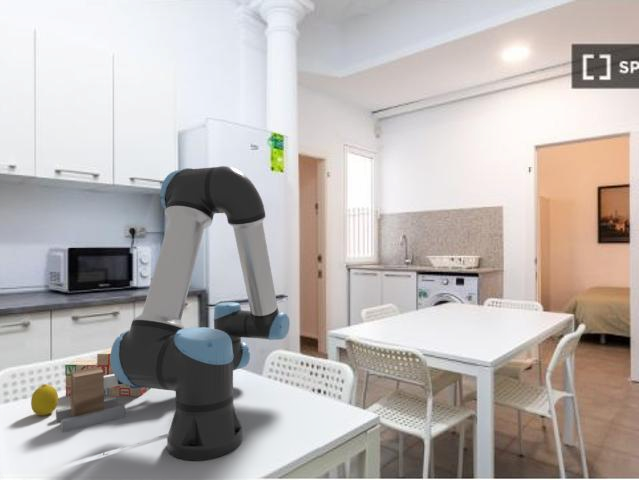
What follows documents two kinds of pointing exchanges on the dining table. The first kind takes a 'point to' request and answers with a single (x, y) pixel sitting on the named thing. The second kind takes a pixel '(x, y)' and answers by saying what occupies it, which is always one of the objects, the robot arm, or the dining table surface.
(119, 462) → the dining table surface
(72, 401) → the block
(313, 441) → the dining table surface
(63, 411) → the chute
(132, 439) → the dining table surface
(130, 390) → the stack of blocks
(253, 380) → the dining table surface
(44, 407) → the lemon
